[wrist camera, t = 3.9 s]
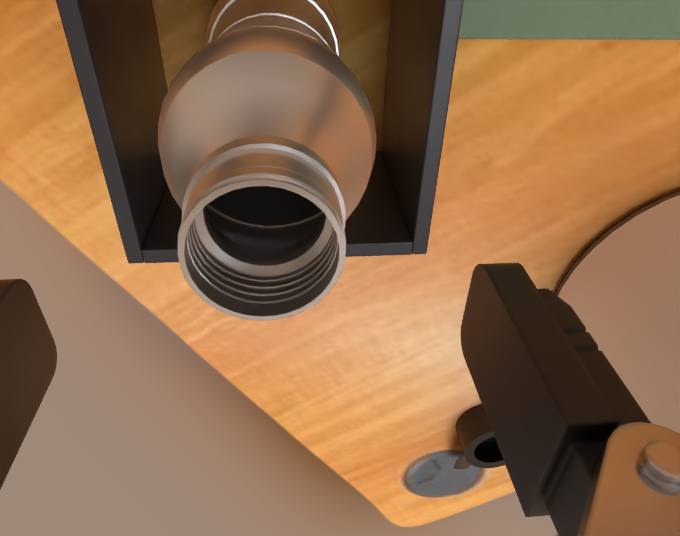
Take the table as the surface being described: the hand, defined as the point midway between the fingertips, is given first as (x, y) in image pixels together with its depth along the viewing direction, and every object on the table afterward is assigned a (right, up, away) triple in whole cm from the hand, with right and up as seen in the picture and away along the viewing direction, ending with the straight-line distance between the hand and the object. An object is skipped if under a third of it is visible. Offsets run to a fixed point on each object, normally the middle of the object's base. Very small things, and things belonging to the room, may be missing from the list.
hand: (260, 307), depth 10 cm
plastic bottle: (-2, +13, +17) cm, 22 cm away
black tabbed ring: (+15, -14, +39) cm, 44 cm away
